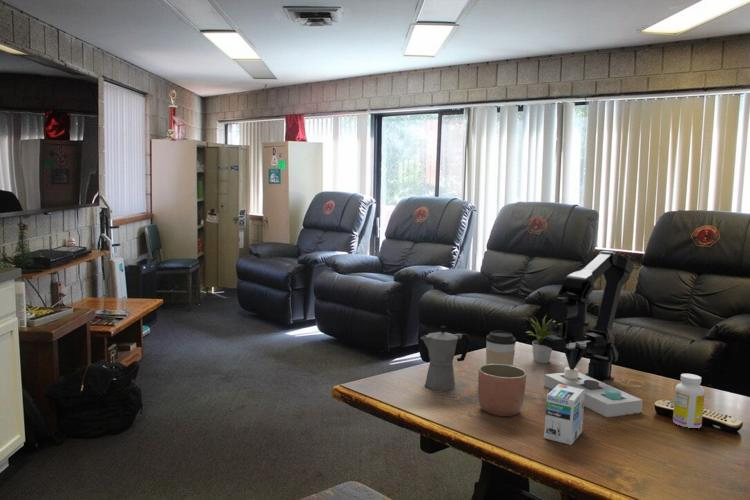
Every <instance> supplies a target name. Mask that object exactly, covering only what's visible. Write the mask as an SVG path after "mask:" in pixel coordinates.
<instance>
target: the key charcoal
mask: <svg viewBox="0 0 750 500" xmlns="http://www.w3.org/2000/svg"><path fill="white" fill-rule="evenodd" d="M584 387H585V388H587V389H589V390H596V389H599V382H597V381H594V380H585V381H584Z"/></svg>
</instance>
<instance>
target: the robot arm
mask: <svg viewBox="0 0 750 500" xmlns="http://www.w3.org/2000/svg"><path fill="white" fill-rule="evenodd" d="M634 266H635V265H634V263H633V262H632V261H631V259H630V258H629V257H628V258H627V257H624V256H622V255H620V254H618V253H617V252H614V251H608V250H601V251H599V252H598V253H597V256H596V257H595V258H593V260H591V261H590V262H589V263H588V264H587V265H586V266H585V267H584V268H582V269H580V270H577V271H574V272H572V273H569V274H567V276H566V277H565V278H564V280H563V282H562V284H561V287H560V289H559V291H558V294H557V296H556V297H557V298H556V301H555V302H553V303H552V304H551V305H550V308H549V310H548V311H549V315H550V317H551V319H552V321H548V322H547V323H548V324H547V325H546V326H547V331H548V333H549V334H550V333H552V335H551V336H548V335H547V336H545V337H544V338H543V343H542V345H544V346H547V347H549V348H552V350H557V351H558V350H562V351H563V352H564V355H565V357H566V361H567V363H568V367H569V368H570V369H571V370H573V369H575V368H576V367H577V365H578V364H579V363H580V361H581V359H582V358H583V357H584V355H585V358H589V362H588V366H587V368H588V370H587V372H586V373H584V375H586V376H589V377H591V378H593V379H596V380H598V381H600V382H602V381H612V380H615V377H614V376H612V366H613V365H612V364H613V363H616V362H617V361H618V359H619V352H618V350H617V348H616V346H615V341H616V340H615V336H614V334H613V325H614V322H615V317H616V312H617V308H618V305H619V304H618V303H619V301H620V296H621V292H622V288H623V286H624V285H626V283H627V282H628V281H629V280H630V278H631V275H632V273H633V271H634ZM601 276H603V277H604V280H605V285H604V290H603V294H602V298H601V302H600V307H599V310H598V314H597V318H596V324H595V325H594V326H593V327H592V329H591V328H588V330H587V332H586V327H589V324H590V323H589V322H587V311H588V303H590V302H591V299H590V298H589V296H590V295H591V293H592V292H593V291H594V289H595V284H594V283H595V282H596V281H597V280H598V279H599V278H600V277H601ZM554 320H555V321H556V322H557V323H556V322H553V321H554ZM560 323H561V324H560Z"/></svg>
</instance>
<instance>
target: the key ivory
mask: <svg viewBox="0 0 750 500" xmlns="http://www.w3.org/2000/svg"><path fill="white" fill-rule="evenodd" d="M563 373H564V378H565V379H567V380H570V381H572V380H578V374H579V373H580V370H579V369H578V368H576V367H575V369H573V370H571V369H570V368H569V366H568V367H564V372H563Z"/></svg>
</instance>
